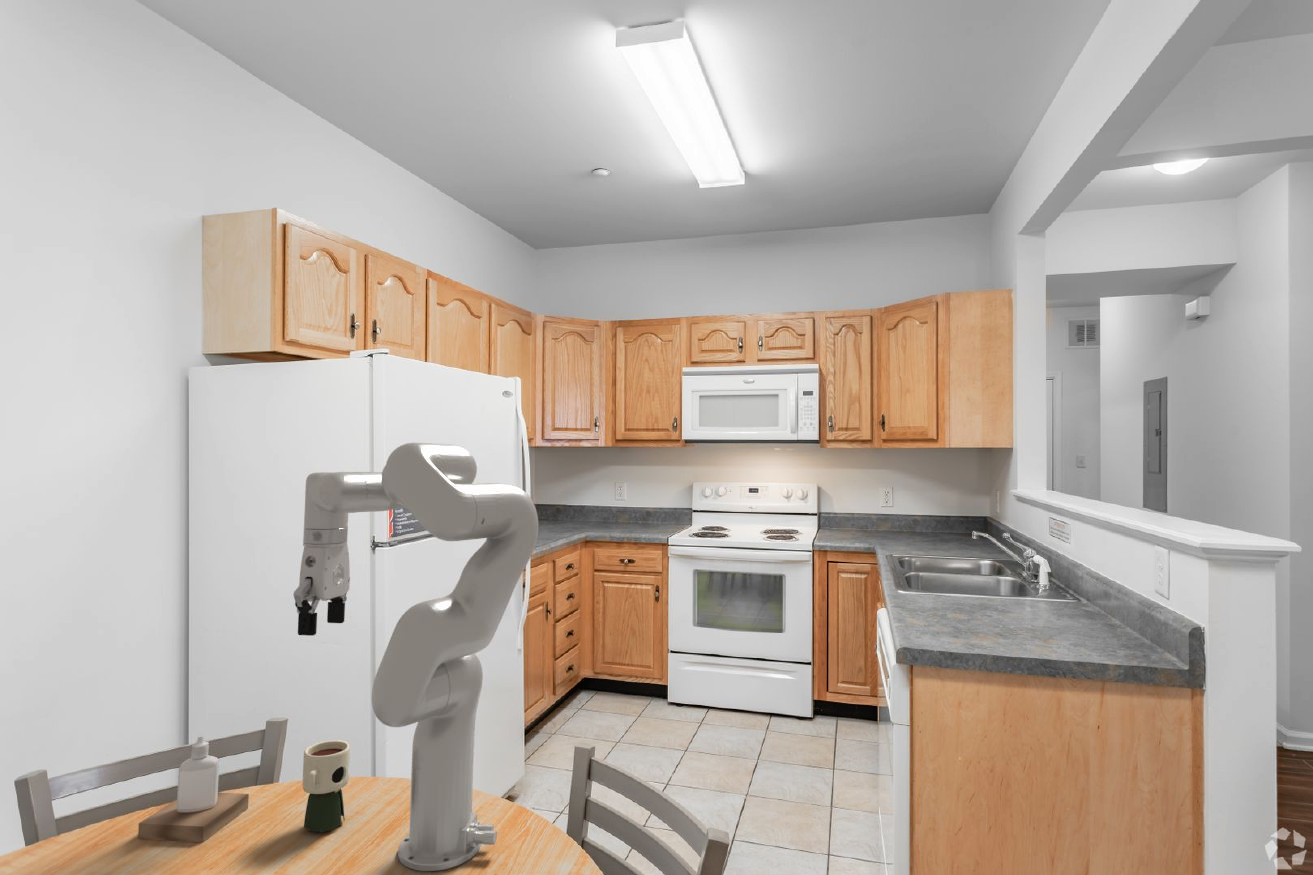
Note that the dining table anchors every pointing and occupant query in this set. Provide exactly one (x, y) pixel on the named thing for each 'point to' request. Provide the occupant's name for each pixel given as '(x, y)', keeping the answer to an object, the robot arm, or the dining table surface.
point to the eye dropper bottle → (198, 780)
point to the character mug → (325, 783)
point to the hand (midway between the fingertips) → (321, 628)
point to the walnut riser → (192, 820)
